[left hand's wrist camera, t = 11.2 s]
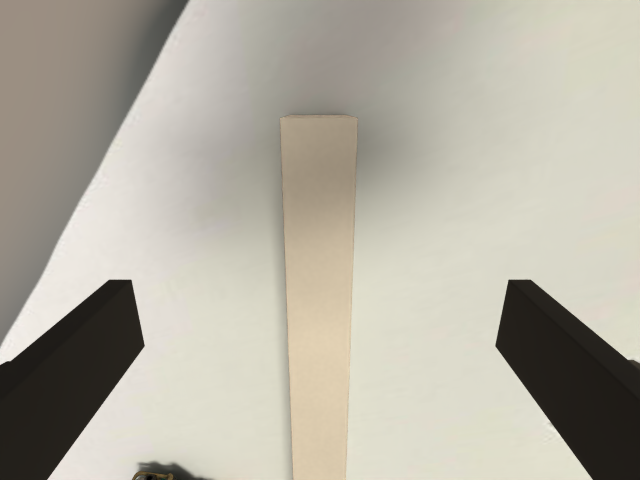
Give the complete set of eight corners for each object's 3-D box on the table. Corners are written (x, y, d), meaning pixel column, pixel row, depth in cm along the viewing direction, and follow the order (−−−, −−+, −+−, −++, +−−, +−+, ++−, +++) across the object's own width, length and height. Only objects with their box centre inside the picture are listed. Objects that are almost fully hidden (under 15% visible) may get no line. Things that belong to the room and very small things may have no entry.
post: (288, 115, 31) (279, 118, 23) (347, 115, 31) (357, 117, 23) (303, 612, 56) (300, 693, 48) (335, 612, 56) (338, 692, 48)
